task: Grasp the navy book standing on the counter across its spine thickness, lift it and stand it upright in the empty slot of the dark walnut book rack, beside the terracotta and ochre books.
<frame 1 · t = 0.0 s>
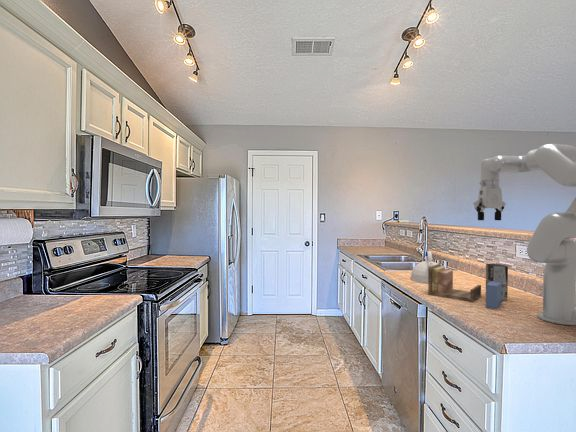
hand: (489, 220, 154), 37 cm above the counter, tool pointing down, fingers open, 9 cm apart
navy book: (493, 306, 141), on the counter
book rack: (454, 295, 158), on the counter
coffee box: (496, 298, 154), on the counter
kettle: (428, 280, 193), on the counter
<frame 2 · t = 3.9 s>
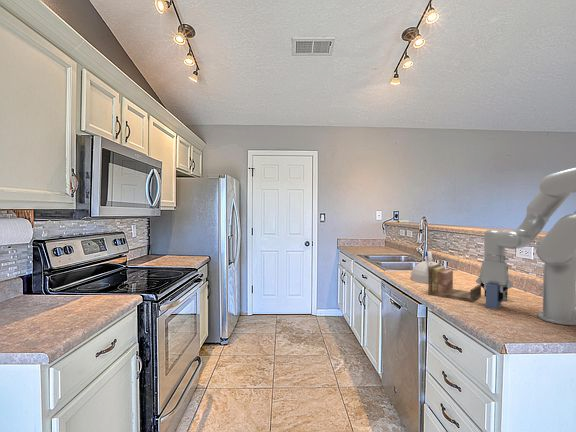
hand: (493, 299, 141), 3 cm above the counter, tool pointing down, fingers closed on navy book, 4 cm apart
navy book: (493, 306, 141), on the counter, touching gripper
everything else where it was.
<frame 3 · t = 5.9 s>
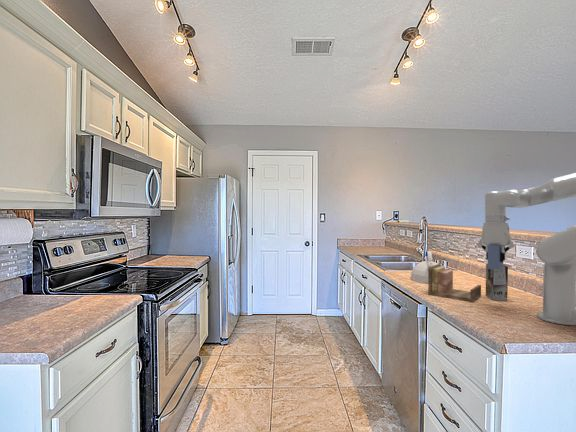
hand: (495, 261, 140), 20 cm above the counter, tool pointing down, fingers closed on navy book, 4 cm apart
navy book: (495, 267, 140), point 17 cm above the counter, touching gripper
everything else where it was.
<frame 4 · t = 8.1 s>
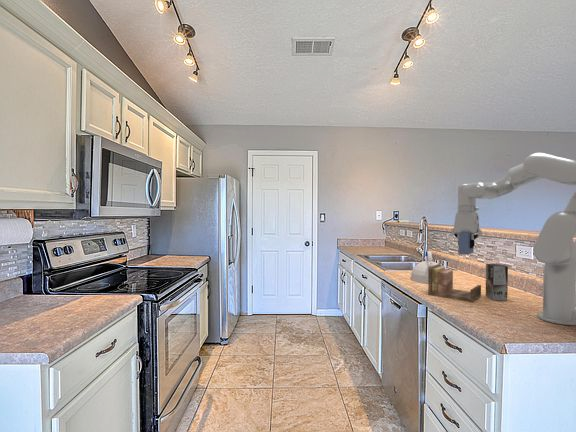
hand: (466, 247, 154), 24 cm above the counter, tool pointing down, fingers closed on navy book, 4 cm apart
navy book: (466, 253, 154), point 21 cm above the counter, touching gripper
everything else where it was.
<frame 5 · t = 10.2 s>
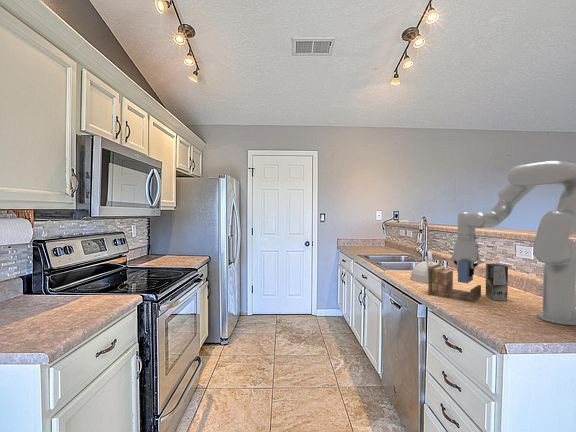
hand: (465, 275, 155), 11 cm above the counter, tool pointing down, fingers closed on navy book, 4 cm apart
navy book: (465, 281, 155), point 8 cm above the counter, touching gripper
everything else where it was.
when the fingers open (6 cm above the counter, at t = 12.1 s): navy book drops 1 cm, resting on book rack.
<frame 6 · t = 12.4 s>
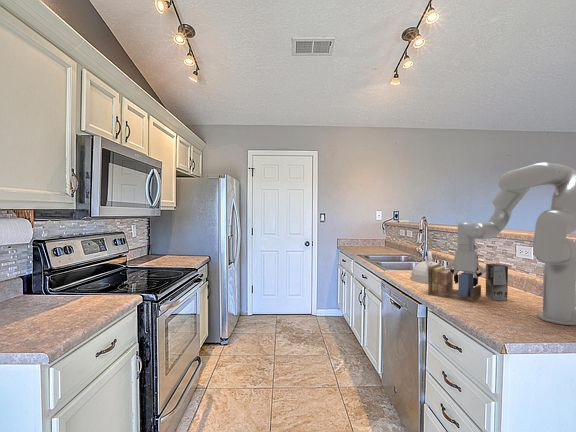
hand: (465, 284, 155), 6 cm above the counter, tool pointing down, fingers open, 7 cm apart
navy book: (466, 294, 155), point 1 cm above the counter, touching book rack
everything else where it was.
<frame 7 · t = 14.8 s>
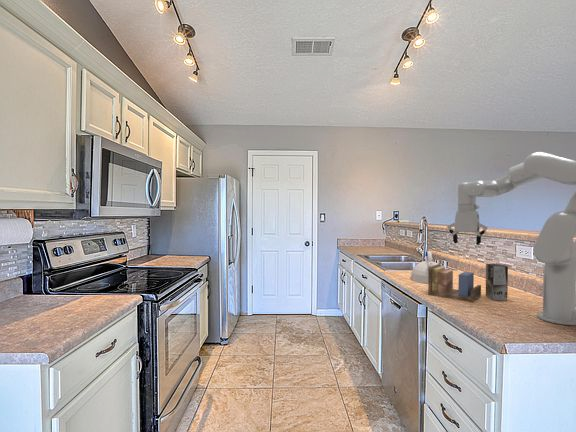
hand: (466, 243, 154), 26 cm above the counter, tool pointing down, fingers open, 9 cm apart
nothing on the counter moved.
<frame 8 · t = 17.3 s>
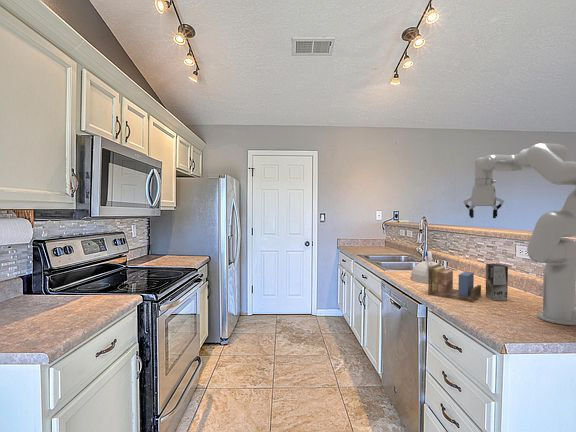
hand: (482, 217, 157), 38 cm above the counter, tool pointing down, fingers open, 9 cm apart
nothing on the counter moved.
at the end: navy book inside the target area on the book rack (0.5 cm from its centre), point 1.5 cm above the book rack's base; navy book tilted 0°; the gripper is holding nothing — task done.
